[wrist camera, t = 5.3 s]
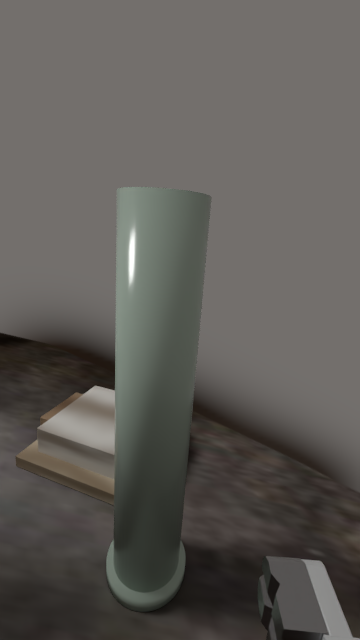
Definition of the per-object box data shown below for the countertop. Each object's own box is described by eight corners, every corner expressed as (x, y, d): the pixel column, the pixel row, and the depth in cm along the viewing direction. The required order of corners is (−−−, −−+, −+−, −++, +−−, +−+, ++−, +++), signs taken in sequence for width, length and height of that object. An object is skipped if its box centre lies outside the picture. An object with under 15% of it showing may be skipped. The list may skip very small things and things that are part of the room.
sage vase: (166, 628, 19) (202, 186, 12) (89, 589, 21) (81, 184, 14) (194, 545, 25) (231, 202, 17) (130, 519, 27) (140, 199, 19)
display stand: (128, 511, 27) (129, 474, 26) (16, 466, 31) (13, 432, 30) (179, 429, 39) (181, 401, 38) (93, 404, 43) (92, 378, 42)
